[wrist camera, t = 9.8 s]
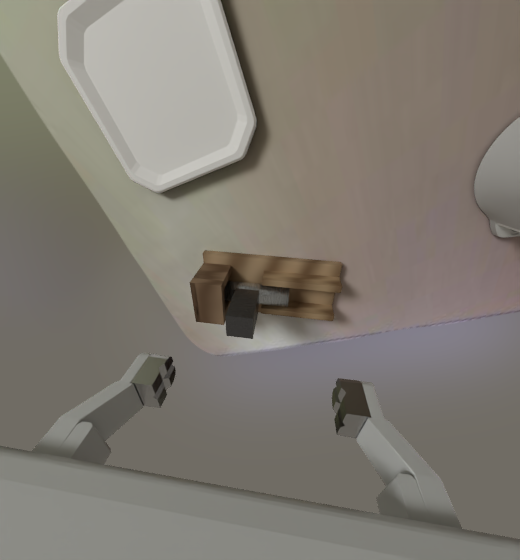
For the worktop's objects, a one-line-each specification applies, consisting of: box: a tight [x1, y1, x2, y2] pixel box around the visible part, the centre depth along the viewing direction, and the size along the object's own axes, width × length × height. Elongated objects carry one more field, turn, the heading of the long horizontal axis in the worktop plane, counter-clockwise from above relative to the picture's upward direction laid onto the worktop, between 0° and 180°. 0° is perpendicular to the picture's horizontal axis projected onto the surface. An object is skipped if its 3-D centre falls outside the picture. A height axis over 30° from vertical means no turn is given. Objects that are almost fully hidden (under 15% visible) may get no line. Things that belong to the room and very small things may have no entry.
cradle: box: [190, 251, 342, 325], centre depth 40 cm, size 24×12×8 cm, turn 88°
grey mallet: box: [224, 281, 289, 339], centre depth 38 cm, size 14×4×11 cm, turn 88°
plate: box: [57, 0, 257, 193], centre depth 29 cm, size 21×21×2 cm
